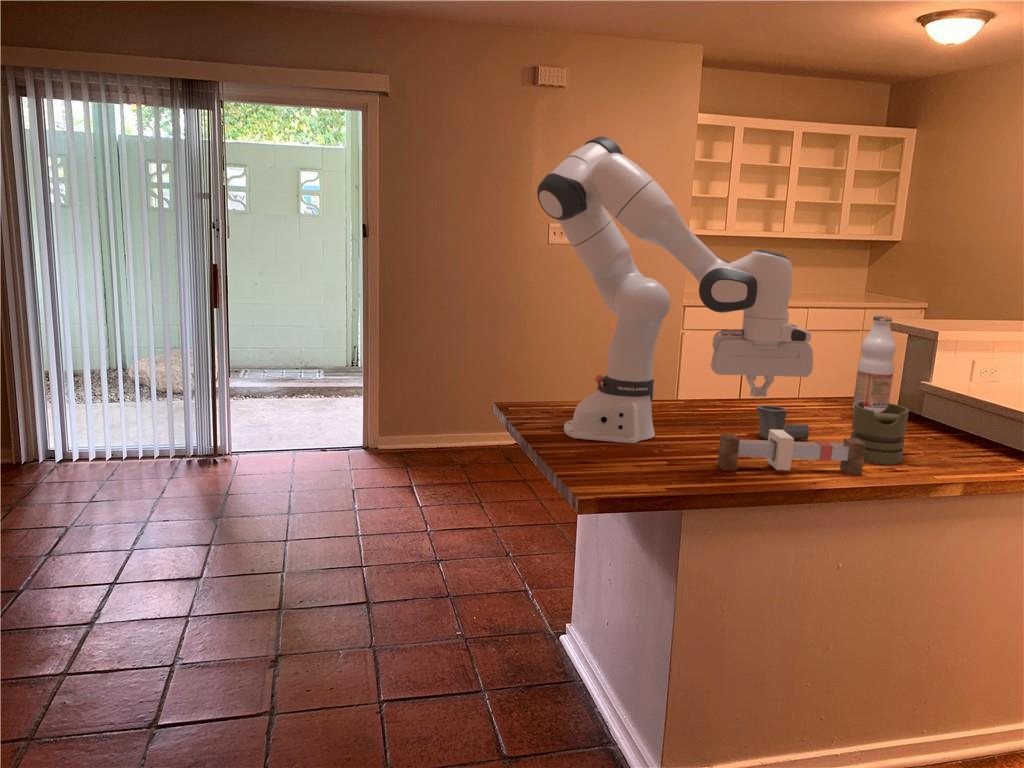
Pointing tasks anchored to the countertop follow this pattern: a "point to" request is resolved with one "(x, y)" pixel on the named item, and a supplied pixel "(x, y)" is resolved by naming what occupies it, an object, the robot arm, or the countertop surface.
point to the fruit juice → (876, 366)
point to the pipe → (779, 423)
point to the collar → (781, 449)
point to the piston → (880, 432)
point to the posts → (850, 467)
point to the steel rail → (795, 450)
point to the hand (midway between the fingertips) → (758, 396)
